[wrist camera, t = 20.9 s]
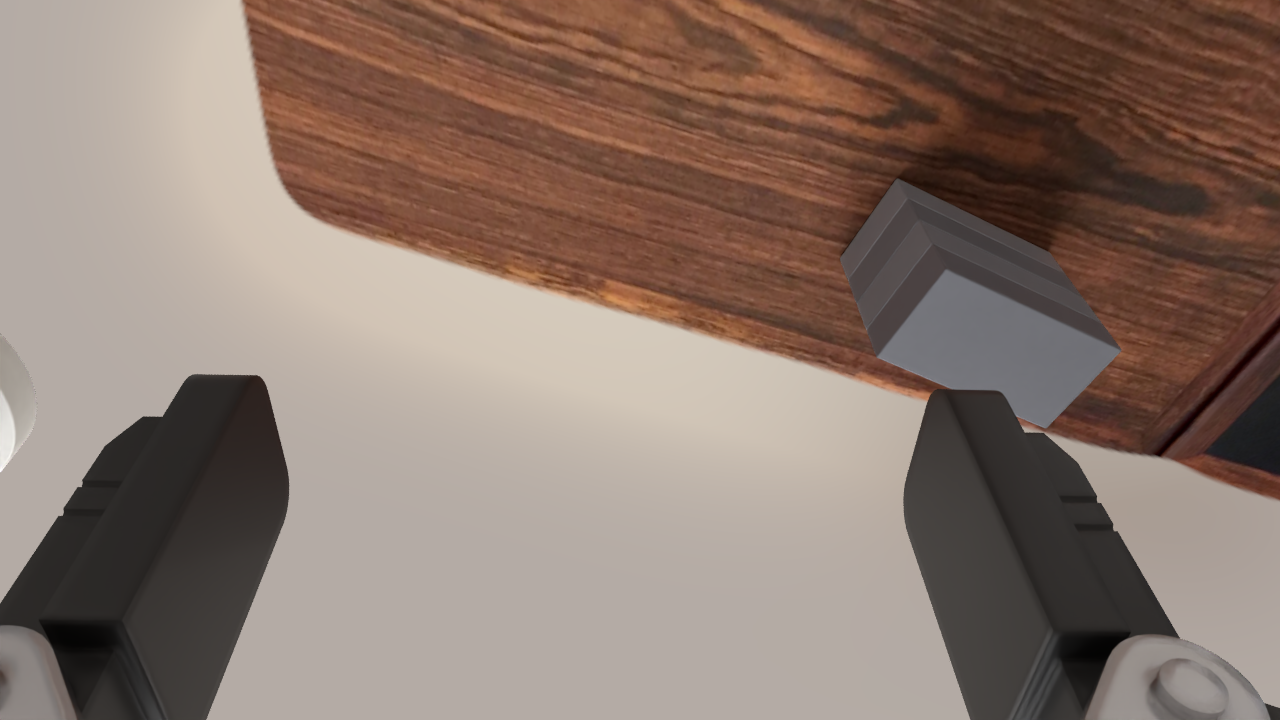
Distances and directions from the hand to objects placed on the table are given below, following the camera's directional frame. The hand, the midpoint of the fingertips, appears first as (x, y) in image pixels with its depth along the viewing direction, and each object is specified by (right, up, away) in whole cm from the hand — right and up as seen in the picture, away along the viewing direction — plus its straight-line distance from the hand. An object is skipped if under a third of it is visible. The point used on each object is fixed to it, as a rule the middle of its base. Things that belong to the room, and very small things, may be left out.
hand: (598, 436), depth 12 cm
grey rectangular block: (+14, +5, +29) cm, 32 cm away
